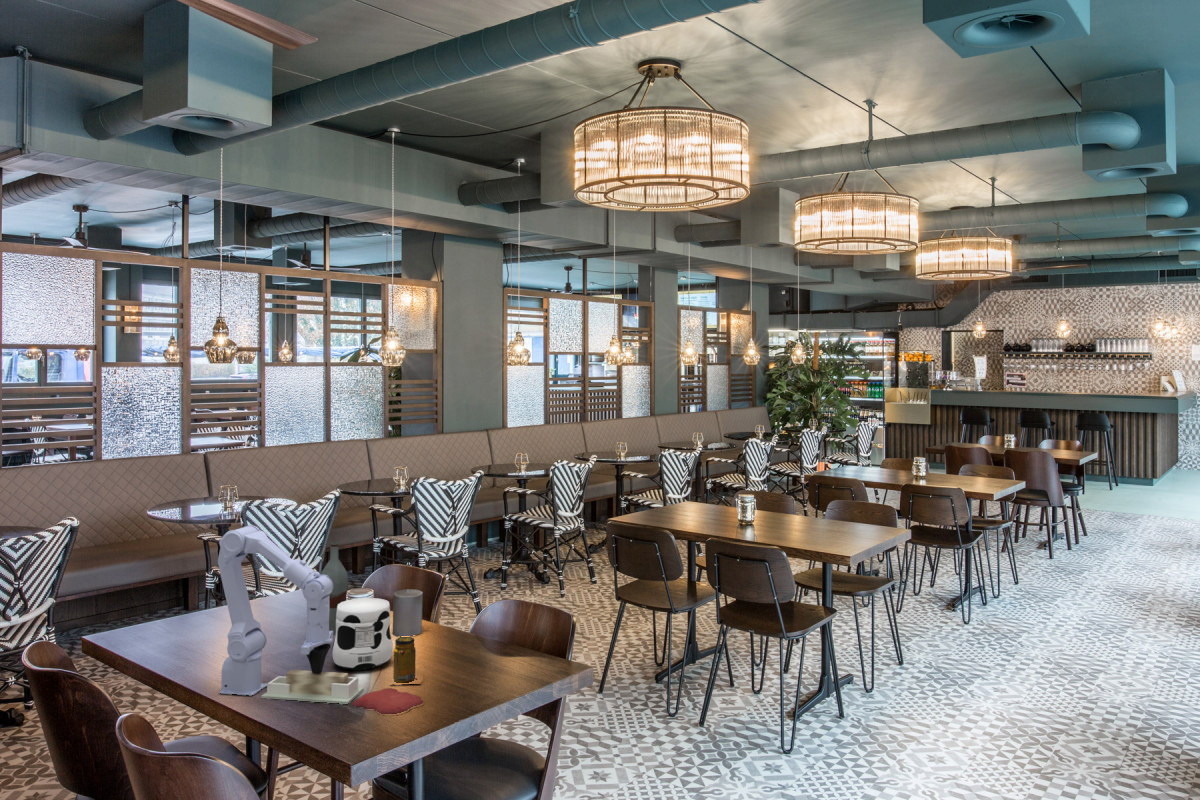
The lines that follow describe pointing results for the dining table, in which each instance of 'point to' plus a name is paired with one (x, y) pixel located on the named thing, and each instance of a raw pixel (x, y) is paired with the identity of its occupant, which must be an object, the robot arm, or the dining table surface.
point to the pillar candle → (407, 612)
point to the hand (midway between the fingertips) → (316, 672)
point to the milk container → (362, 634)
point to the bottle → (335, 584)
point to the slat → (314, 681)
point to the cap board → (312, 697)
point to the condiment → (404, 660)
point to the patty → (388, 701)
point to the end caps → (337, 690)
